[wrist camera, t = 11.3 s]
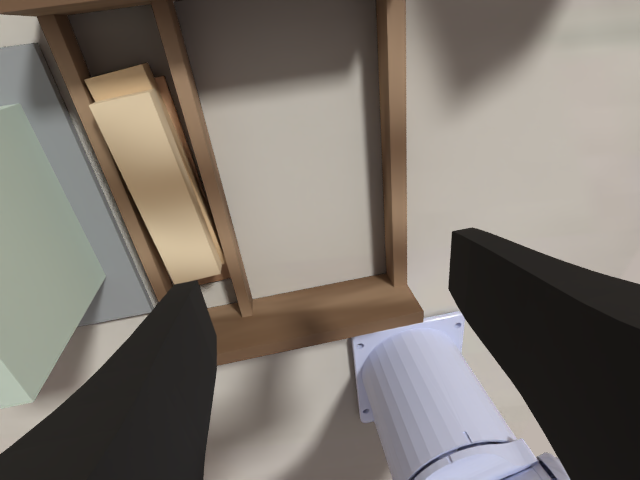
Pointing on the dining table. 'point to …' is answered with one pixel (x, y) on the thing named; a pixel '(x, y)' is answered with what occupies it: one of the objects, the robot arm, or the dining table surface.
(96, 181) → the grey rubber mat
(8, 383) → the sage plywood sheet
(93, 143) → the walnut rack
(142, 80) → the middle offcut
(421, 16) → the dining table surface
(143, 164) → the top offcut
